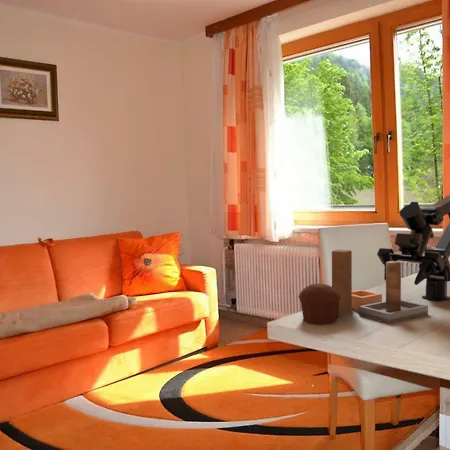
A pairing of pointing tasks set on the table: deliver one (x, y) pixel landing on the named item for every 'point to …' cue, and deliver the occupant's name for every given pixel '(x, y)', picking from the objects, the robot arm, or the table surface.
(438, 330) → the table surface
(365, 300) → the orange square ring
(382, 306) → the tray
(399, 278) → the dowel pin
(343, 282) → the wooden block
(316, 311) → the muffin
